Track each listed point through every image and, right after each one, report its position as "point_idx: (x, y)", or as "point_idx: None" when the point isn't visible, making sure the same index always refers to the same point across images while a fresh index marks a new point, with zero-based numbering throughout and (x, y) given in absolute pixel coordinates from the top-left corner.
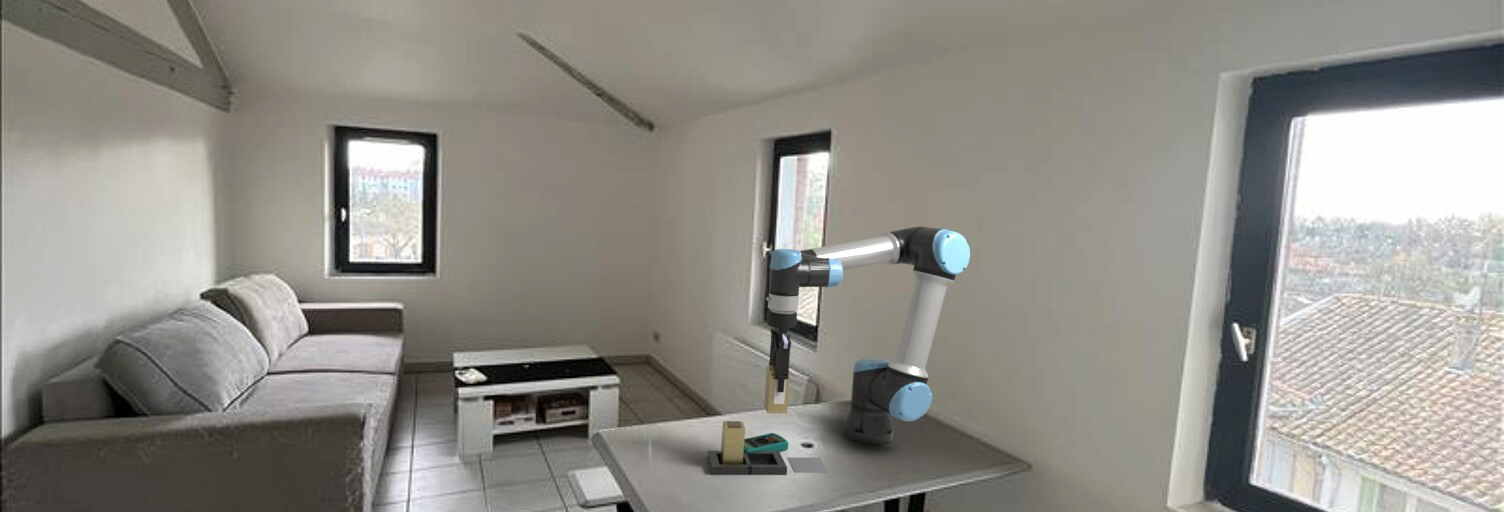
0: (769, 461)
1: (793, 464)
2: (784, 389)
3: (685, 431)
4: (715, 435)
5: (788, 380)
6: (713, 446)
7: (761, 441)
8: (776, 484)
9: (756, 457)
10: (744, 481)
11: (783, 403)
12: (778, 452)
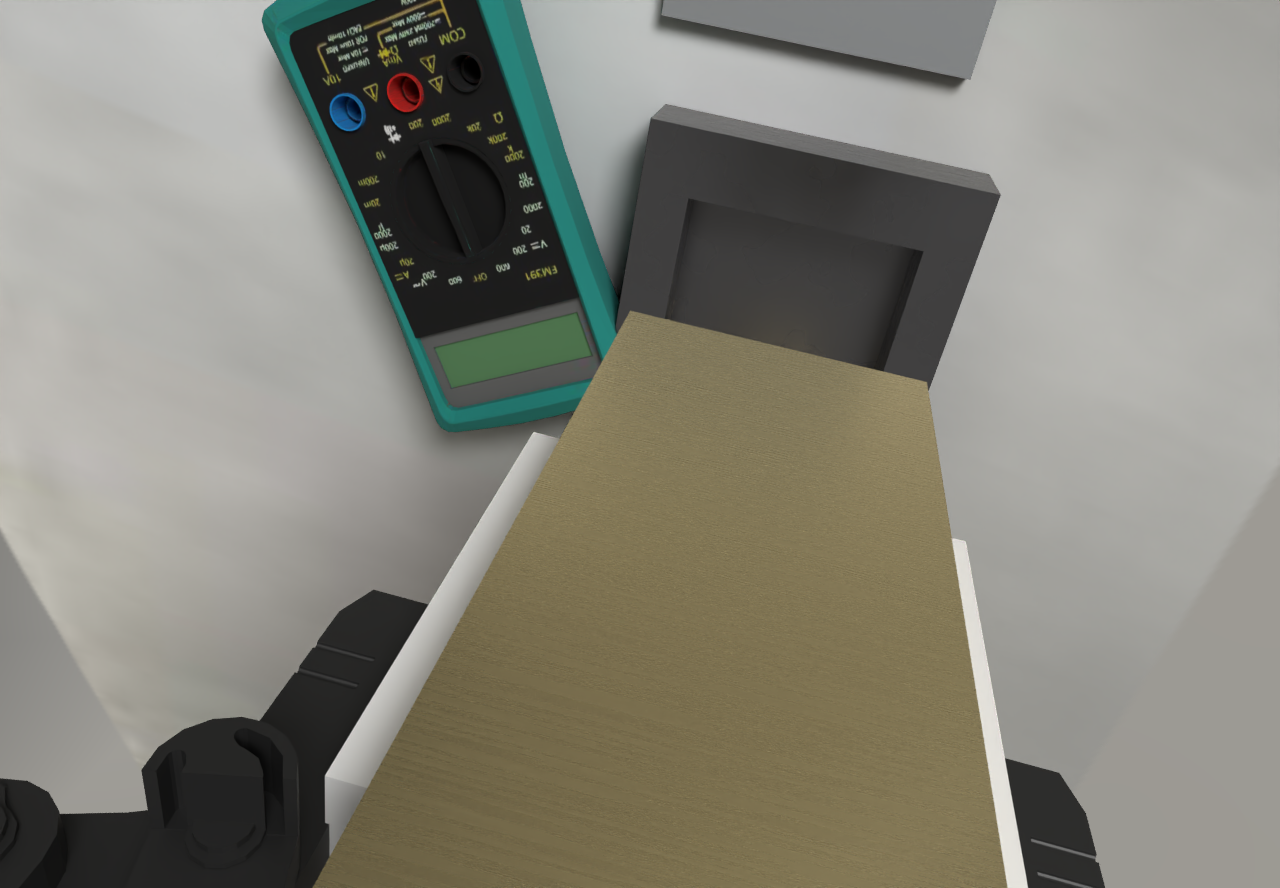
0: (706, 211)
1: (820, 21)
2: (993, 751)
3: (144, 541)
4: (187, 394)
5: (989, 839)
6: (374, 472)
7: (459, 213)
8: (1084, 310)
9: (668, 318)
10: (949, 497)
11: (961, 557)
12: (674, 134)
